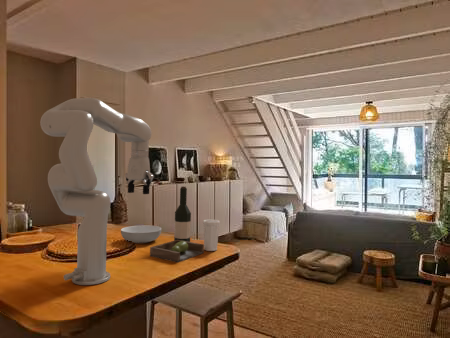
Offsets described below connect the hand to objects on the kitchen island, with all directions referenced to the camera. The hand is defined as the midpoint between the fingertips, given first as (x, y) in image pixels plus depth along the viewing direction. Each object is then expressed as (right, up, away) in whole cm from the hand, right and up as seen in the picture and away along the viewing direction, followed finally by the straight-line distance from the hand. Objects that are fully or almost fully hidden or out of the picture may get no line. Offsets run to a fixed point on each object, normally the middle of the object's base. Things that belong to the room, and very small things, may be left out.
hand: (138, 193), depth 148 cm
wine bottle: (+16, -28, +23) cm, 40 cm away
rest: (+17, -28, +5) cm, 34 cm away
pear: (+18, -28, +3) cm, 33 cm away
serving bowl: (-6, -28, +28) cm, 40 cm away
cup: (+31, -29, +15) cm, 45 cm away
